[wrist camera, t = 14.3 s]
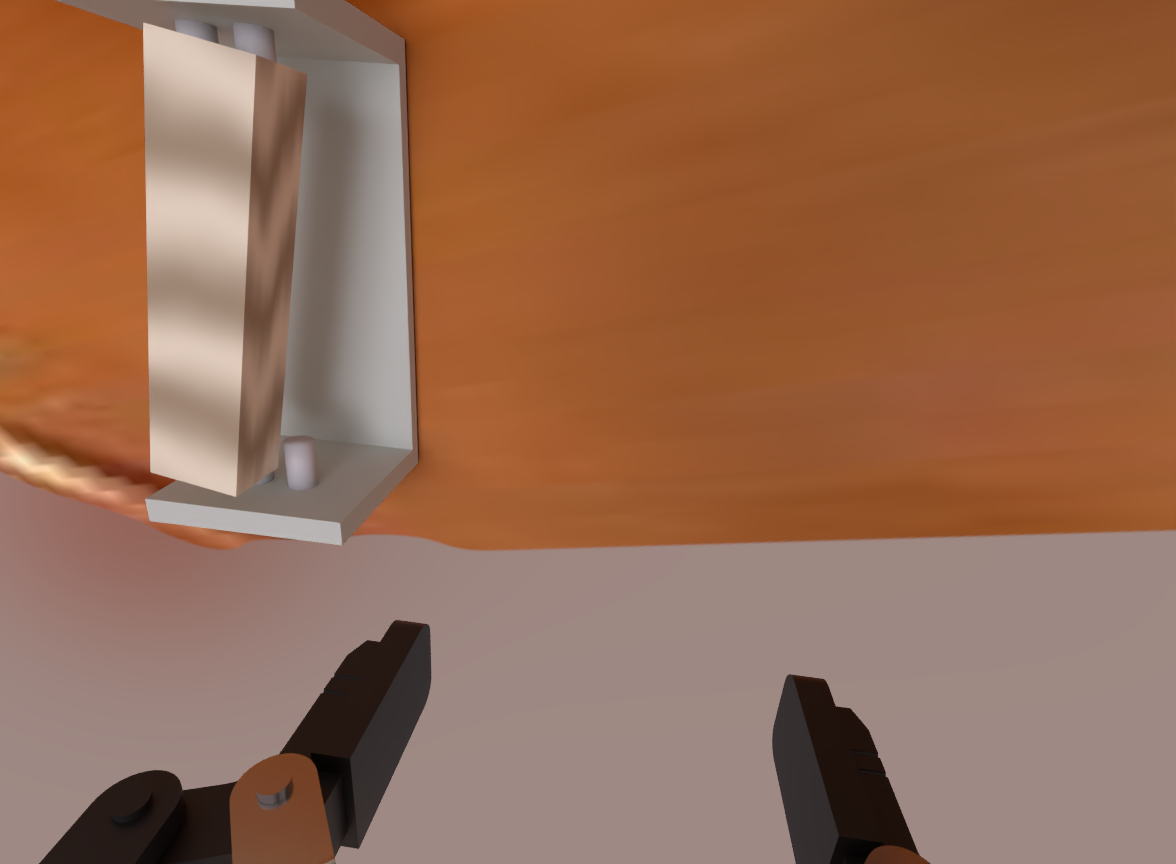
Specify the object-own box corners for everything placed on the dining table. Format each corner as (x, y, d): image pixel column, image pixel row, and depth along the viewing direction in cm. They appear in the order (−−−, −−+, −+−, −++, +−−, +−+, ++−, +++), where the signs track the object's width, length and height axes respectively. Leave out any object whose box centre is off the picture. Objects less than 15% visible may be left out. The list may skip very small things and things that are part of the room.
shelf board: (209, 45, 29) (143, 22, 25) (307, 74, 29) (256, 55, 25) (201, 445, 37) (150, 472, 33) (278, 467, 37) (236, 497, 33)
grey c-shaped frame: (216, 27, 37) (24, -50, 26) (404, 39, 36) (291, -35, 25) (270, 445, 47) (149, 520, 36) (418, 462, 46) (342, 545, 35)
